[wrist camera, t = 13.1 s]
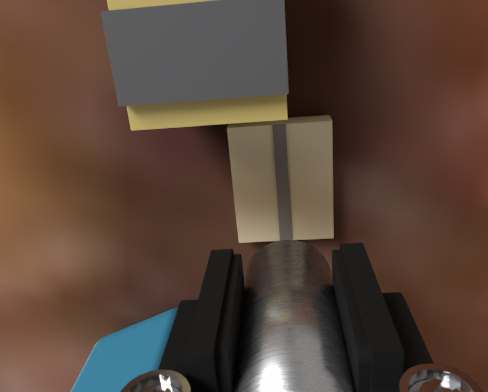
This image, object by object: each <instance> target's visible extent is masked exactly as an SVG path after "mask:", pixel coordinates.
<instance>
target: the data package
mask: <svg viewBox="0 0 488 392" xmlns="http://www.w3.org/2000/svg"><path fill="white" fill-rule="evenodd" d="M177 310H178V307H177V308H173V309H171V310H168V311H166V312H163V313H161V314H158V315H156V316H154V317H151V318H149V319H146V320H144V321H141V322H139V323H136V324H134V325H132V326H129V327H127V328H124V329H122V330H119V331H117V332H114V333H112V334H110V335H107V336H105V337H103V338H101V339H100V340H99V341H98V342H97V343H96V344H95V346H94V348H93V350H92V352H91V354H90V355H89V357H88V359H87V361H86V363H85V365H84V367H83V369H82V371H81V373H80V374H79V376H78V378H77V380H76V382H75V384H74V386H73V388H72V390H71V392H120V391H121V390H122V389H123V388H124V387H125V386H126V385H127V383H128V382H130V381H131V380H133V379H134V378H136V377H137V376H139V375H141V374H144V373H146V372H149V371H154V370H158V369H159V366H160V363H161V360H162V357H163V353H164V350H165V347H166V344H167V341H168V338H169V335H170V332H171V329H172V326H173V323H174V320H175V317H176V313H177Z"/></svg>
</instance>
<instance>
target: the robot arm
mask: <svg viewBox="0 0 488 392" xmlns="http://www.w3.org/2000/svg"><path fill="white" fill-rule="evenodd" d="M332 274H333V289H334V294H335V299H336V303H337V308H338V313H339V317H340V322H341V327H342V331H343V336H344V341H345V345H346V350H347V355H348V359H349V364H350V369H351V373H352V378H353V383H354V387H355V392H482V390H481V389H480V387H479V386H478V384H477V383H476V382H475V381H473V380H472V379H471V378H470V377H469V376H467V375H466V374H464V373H462V372H460V371H458V370H457V369H454V368H451V367H448V366H445V365H440V364H434V363H433V361H432V359H431V357H430V354H429V352H428V350H427V348H426V346H425V343H424V341H423V339H422V337H421V335H420V332H419V330H418V328H417V326H416V323H415V321H414V319H413V317H412V315H411V312H410V310H409V308H408V306H407V304H406V301H405V299H404V297H403V295H402V294H401V293H382V292H381V290H380V287H379V284H378V282H377V279H376V277H375V274H374V271H373V269H372V266H371V263H370V261H369V258H368V256H367V253H366V250H365V248H364V245H363V243H353V244H340V250H333V251H332ZM244 291H245V286H244V277H243V267H242V258H241V254H234V252H233V249H224V250H212V251H211V253H210V257H209V261H208V265H207V269H206V272H205V276H204V280H203V284H202V287H201V291H200V295H199V299H198V300H183V301H181V302H180V305H179V307H178V310H177V313H176V317H175V320H174V323H173V326H172V329H171V332H170V335H169V338H168V341H167V344H166V347H165V350H164V353H163V357H162V360H161V363H160V366H159V369H158V370H154V371H149V372H146V373H144V374H141V375H139V376H137V377H136V378H134V379H133V380H131V381H130V382H128V383H127V385H126V386H125V387H124V388H123V389H122V390H121V391H120V392H233V391H234V382H235V373H236V364H237V355H238V346H239V337H240V328H241V318H242V309H243V300H244Z"/></svg>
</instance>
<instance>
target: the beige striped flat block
mask: <svg viewBox="0 0 488 392" xmlns="http://www.w3.org/2000/svg"><path fill="white" fill-rule="evenodd" d="M227 135H228V144H229V154H230V163H231V173H232V183H233V192H234V202H235V211H236V221H237V230H238V240H239V243H244V242H265V241H280V240H307V239H328V238H334V218H333V136H332V119H331V117H330V115H319V116H305V117H291V118H288V120H276V121H261V122H247V123H233V124H228V126H227Z"/></svg>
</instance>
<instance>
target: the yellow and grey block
mask: <svg viewBox="0 0 488 392" xmlns="http://www.w3.org/2000/svg"><path fill="white" fill-rule="evenodd" d="M107 3H108V9H109V10H108V11H100V13H101V18H102V23H103V28H104V33H105V39H106V44H107V49H108V54H109V59H110V64H111V70H112V75H113V80H114V85H115V90H116V96H117V101H118V106H119V107H120V106H127V111H128V116H129V122H130V127H131V130H146V129H160V128H175V127H189V126H204V125H218V124H233V123H247V122H261V121H276V120H288V115H287V94H289V88H288V66H287V44H286V23H285V1H284V0H107Z"/></svg>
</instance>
